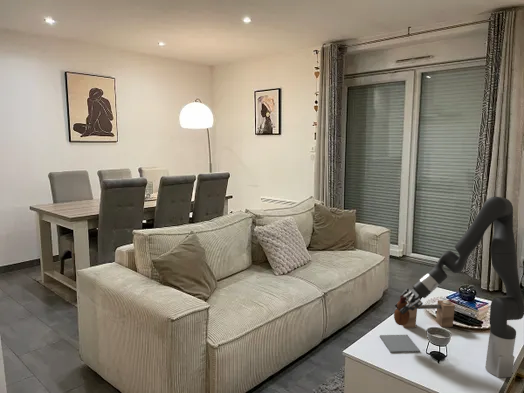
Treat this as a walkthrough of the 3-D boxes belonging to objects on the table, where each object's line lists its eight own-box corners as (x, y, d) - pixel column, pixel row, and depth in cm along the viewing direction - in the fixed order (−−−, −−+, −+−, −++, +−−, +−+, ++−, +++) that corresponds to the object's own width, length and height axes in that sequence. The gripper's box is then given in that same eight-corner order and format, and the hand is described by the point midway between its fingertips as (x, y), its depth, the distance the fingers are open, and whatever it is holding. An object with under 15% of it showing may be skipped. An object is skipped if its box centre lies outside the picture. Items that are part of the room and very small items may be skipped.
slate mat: (420, 352, 179) (420, 350, 179) (390, 352, 178) (390, 351, 178) (407, 336, 193) (407, 334, 193) (379, 336, 192) (379, 335, 192)
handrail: (452, 326, 203) (455, 304, 201) (404, 327, 201) (406, 305, 199) (446, 321, 209) (448, 299, 207) (399, 322, 207) (401, 299, 205)
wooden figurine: (398, 327, 181) (400, 297, 178) (391, 321, 186) (393, 292, 184) (411, 325, 182) (413, 295, 180) (403, 320, 188) (405, 290, 185)
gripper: (413, 274, 188) (387, 297, 189) (428, 286, 174) (399, 312, 175) (423, 284, 189) (397, 307, 190) (438, 297, 175) (410, 322, 176)
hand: (398, 309), depth 183 cm, fingers closed on wooden figurine, 5 cm apart
